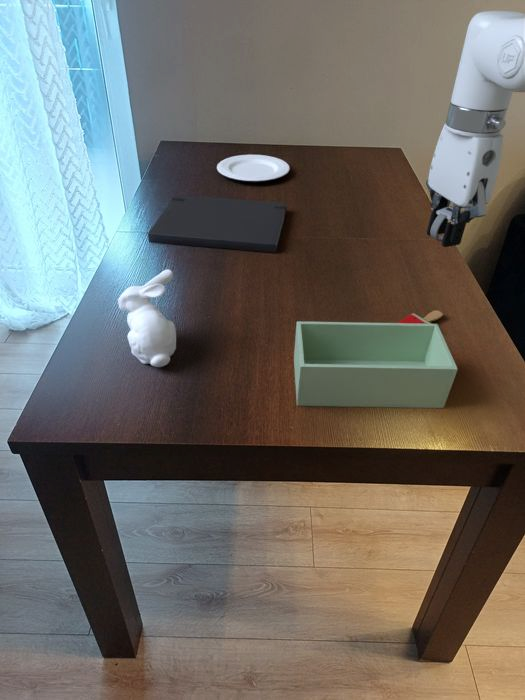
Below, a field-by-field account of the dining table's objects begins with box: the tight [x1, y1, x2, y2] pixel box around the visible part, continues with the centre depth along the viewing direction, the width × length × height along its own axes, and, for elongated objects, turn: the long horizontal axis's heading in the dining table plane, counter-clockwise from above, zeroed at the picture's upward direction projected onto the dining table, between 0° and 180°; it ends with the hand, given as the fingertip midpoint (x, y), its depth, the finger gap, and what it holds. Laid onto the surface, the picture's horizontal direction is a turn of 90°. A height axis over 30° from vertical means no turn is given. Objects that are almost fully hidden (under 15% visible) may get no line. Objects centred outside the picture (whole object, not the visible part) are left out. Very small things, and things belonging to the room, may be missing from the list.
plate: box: [216, 154, 291, 184], centre depth 141 cm, size 21×21×2 cm
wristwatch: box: [430, 205, 464, 242], centre depth 79 cm, size 6×3×5 cm, turn 125°
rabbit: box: [117, 269, 177, 368], centre depth 76 cm, size 12×9×12 cm
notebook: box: [147, 194, 287, 254], centre depth 114 cm, size 22×2×28 cm
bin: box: [293, 320, 458, 409], centre depth 72 cm, size 21×10×8 cm, turn 90°
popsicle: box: [397, 309, 444, 324], centre depth 85 cm, size 4×2×15 cm
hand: (443, 238), depth 80 cm, fingers closed on wristwatch, 3 cm apart
